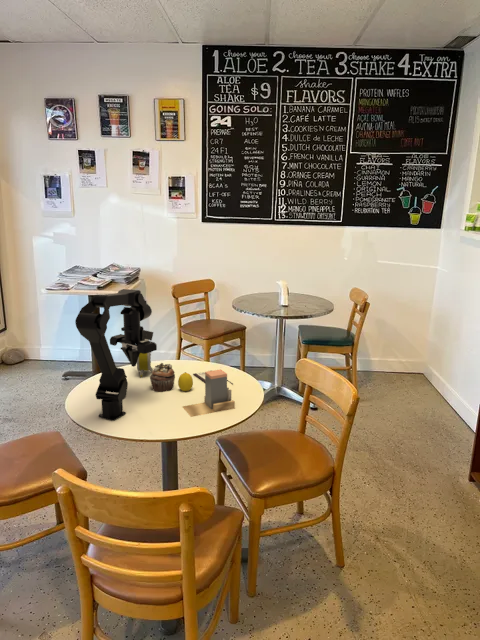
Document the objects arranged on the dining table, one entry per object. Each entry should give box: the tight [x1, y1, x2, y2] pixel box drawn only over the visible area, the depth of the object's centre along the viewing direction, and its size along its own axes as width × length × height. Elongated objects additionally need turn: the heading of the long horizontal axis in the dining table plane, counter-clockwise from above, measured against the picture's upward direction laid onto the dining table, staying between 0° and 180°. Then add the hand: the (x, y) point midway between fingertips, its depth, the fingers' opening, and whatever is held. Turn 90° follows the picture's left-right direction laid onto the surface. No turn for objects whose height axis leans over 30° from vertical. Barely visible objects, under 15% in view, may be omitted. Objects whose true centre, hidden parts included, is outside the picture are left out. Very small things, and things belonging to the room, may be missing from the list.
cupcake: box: [149, 362, 176, 393], centre depth 180 cm, size 10×10×10 cm
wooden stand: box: [181, 386, 236, 418], centre depth 162 cm, size 16×9×7 cm, turn 116°
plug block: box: [204, 369, 228, 409], centre depth 163 cm, size 6×5×12 cm
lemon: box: [177, 372, 194, 392], centre depth 177 cm, size 6×6×8 cm
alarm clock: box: [136, 339, 154, 378], centre depth 195 cm, size 12×7×15 cm, turn 9°
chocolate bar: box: [192, 370, 234, 386], centre depth 191 cm, size 9×1×18 cm
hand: (133, 366), depth 169 cm, fingers closed
